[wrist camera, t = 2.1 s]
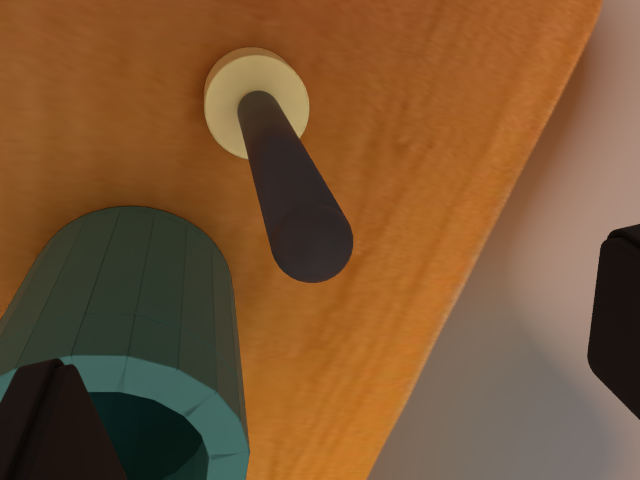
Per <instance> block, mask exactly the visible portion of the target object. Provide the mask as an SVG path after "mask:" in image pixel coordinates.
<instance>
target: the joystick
mask: <svg viewBox="0 0 640 480" xmlns="http://www.w3.org/2000/svg"><path fill="white" fill-rule="evenodd" d="M204 113H205V119H206V122H207V126H208V128H209V130H210V132H211V134H212V135H213V137H214V139H215V140H216V141H217V142H218V143H219V144H220V145H221V146H222V147H223V148H224V149H225V150H227V151H228V152H230V153H232V154H233V155H235V156H238V157H240V158H244V159H248V160H249V163H250V167H251V171H252V175H253V179H254V183H255V187H256V191H257V195H258V199H259V203H260V207H261V211H262V215H263V219H264V223H265V227H266V231H267V235H268V238H269V242H270V246H271V250H272V254H273V257H274V259H275V261H276V263H277V264H278V266H279V267H280V268H281V269H282V270H283V271H284V272H285V273H286V274H287V275H289V276H290V277H291V278H293V279H296V280H298V281H302V282H307V283H318V282H323V281H326V280H329V279H330V278H332V277H334V276H336V275H337V274H338V273H339V272H340V271H341V270H342V269H343V268H344V267H345V265H346V264H347V262H348V261H349V259H350V256H351V254H352V249H353V234H352V230H351V227H350V224H349V222H348V221H347V219H346V217H345V215H344V214H343V212H342V210H341V209H340V207H339V205H338V204H337V202H336V200H335V198H334V197H333V195H332V193H331V192H330V190H329V188H328V187H327V185H326V183H325V181H324V180H323V178H322V176H321V175H320V173H319V171H318V170H317V168H316V166H315V165H314V163H313V161H312V159H311V158H310V156H309V154H308V153H307V151H306V149H305V148H304V146H303V144H302V142H301V141H300V137H301V136H302V134H303V132H304V130H305V128H306V125H307V122H308V117H309V98H308V94H307V91H306V88H305V86H304V84H303V82H302V80H301V79H300V77H299V76H298V74H297V73H296V72H295V71H294V70H293V69H292V68H291V67H290V66H289V65H288V64H287V63H286V62H285V61H284V60H283V59H282V58H281V57H280V56H278V55H277V54H275V53H273V52H271V51H269V50H266V49H263V48H257V47H246V48H240V49H236V50H234V51H231V52H229V53H228V54H226V55H224V56H223V57H222V58H220V59H219V60H218V61H217V62H216V63H215V65H214V66H213V67H212V69H211V71H210V72H209V74H208V77H207V79H206V83H205V87H204Z"/></svg>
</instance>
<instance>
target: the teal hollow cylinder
mask: <svg viewBox="0 0 640 480" xmlns="http://www.w3.org/2000/svg"><path fill="white" fill-rule="evenodd" d="M55 358H58V359H60V360H61V361H62V362H63V363H64V364H65V365H69V364H73V365H75V366H76V368H77V369H78V371H79V373H80V376H81V378H82V380H83V382H84V384H85V386H86V389H87V391H88V393H89V395H90V397H91V399H92V402H93V404H94V406H95V408H96V410H97V412H98V415H99V417H100V419H101V421H102V423H103V425H104V428H105V430H106V432H107V434H108V436H109V438H110V441H111V443H112V445H113V447H114V449H115V452H116V454H117V456H118V458H119V460H120V462H121V465H122V467H123V469H124V471H125V473H126V476H127V480H246V474H247V467H248V461H249V455H250V448H249V439H248V429H247V419H246V409H245V398H244V388H243V378H242V368H241V358H240V348H239V338H238V329H237V319H236V309H235V299H234V290H233V286H232V281H231V275H230V271H229V268H228V265H227V262H226V260H225V258H224V257H223V255H222V253H221V251H220V250H219V249H218V247H217V246H216V244H215V243H214V242H213V241H212V240H211V239H210V238H209V237H208V236H207V235H206V234H205V233H204V232H203V231H201V230H200V229H199V228H198V227H196V226H195V225H193V224H191V223H190V222H188V221H187V220H185V219H183V218H180V217H178V216H176V215H174V214H171V213H168V212H165V211H162V210H157V209H152V208H147V207H136V206H125V207H113V208H106V209H102V210H99V211H95V212H92V213H89V214H87V215H84V216H82V217H79V218H78V219H76V220H74V221H72V222H71V223H69V224H67V225H66V226H65V227H63V228H62V229H61V230H59V231H58V232H57V233H56V234H55V235H54V236H53V237H52V238H51V239H50V240H49V242H48V243H47V245H46V246H45V247H44V249H43V250H42V252H41V253H40V254H39V255H38V257H37V258H36V260H35V262H34V263H33V265H32V267H31V268H30V270H29V272H28V274H27V275H26V277H25V279H24V280H23V282H22V284H21V286H20V287H19V289H18V291H17V293H16V294H15V296H14V298H13V299H12V301H11V303H10V305H9V306H8V308H7V310H6V311H5V313H4V315H3V317H2V318H1V320H0V402H1V400H2V398H3V396H4V394H5V392H6V390H7V388H8V386H9V384H10V382H11V380H12V378H13V376H14V374H15V372H16V370H17V369H18V368H19V367H21V366H24V365H29V364H33V363H37V362H42V361H46V360H50V359H55Z"/></svg>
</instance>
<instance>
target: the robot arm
mask: <svg viewBox="0 0 640 480" xmlns="http://www.w3.org/2000/svg"><path fill="white" fill-rule="evenodd" d="M587 358H588V363H589V365H590V368H591V369H592V371H593V373H594V374H595V375H596V376H597V377H598V378H599V379H600V380H601V381H602V382H603V383H604V384H605V385H606V386H607V387H608V388H609V389H610V390H611V391H612V392H613V393H614V394H615V395H616V396H617V397H618V398H619V399H620V400H621V401H622V402H623V403H624V404H625V405H626V407H628V409H629V410H631V412H632V413H633V414H635V416H636V417H638V419H639V420H640V224H638V225H634V226H630V227H625V228H620V229H616V230H613V231H612V232H611V233H610V234H609V235H608V237H607V240H605V241H604V242H603V243H602V245H601V248H600V257H599V264H598V272H597V280H596V289H595V297H594V305H593V313H592V322H591V330H590V337H589V345H588V354H587ZM0 480H127V476H126V473H125V471H124V469H123V467H122V465H121V462H120V460H119V458H118V456H117V454H116V452H115V449H114V447H113V445H112V443H111V441H110V438H109V436H108V434H107V432H106V430H105V428H104V425H103V423H102V421H101V419H100V417H99V415H98V412H97V410H96V408H95V406H94V404H93V402H92V399H91V397H90V395H89V393H88V391H87V389H86V386H85V384H84V382H83V380H82V378H81V376H80V373H79V371H78V369H77V368H76V366H75V365H73V364H69V365H65V364H64V363H63V362H62V361H61V360H60V359H58V358H55V359H50V360H46V361H42V362H37V363H33V364H29V365H24V366H21V367H19V368H18V369H17V370H16V372H15V374H14V376H13V378H12V380H11V382H10V384H9V386H8V388H7V390H6V392H5V394H4V396H3V398H2V400H1V402H0Z"/></svg>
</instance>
